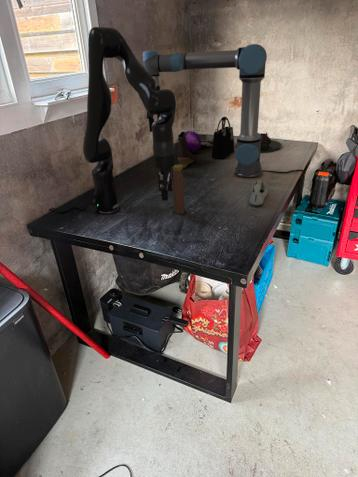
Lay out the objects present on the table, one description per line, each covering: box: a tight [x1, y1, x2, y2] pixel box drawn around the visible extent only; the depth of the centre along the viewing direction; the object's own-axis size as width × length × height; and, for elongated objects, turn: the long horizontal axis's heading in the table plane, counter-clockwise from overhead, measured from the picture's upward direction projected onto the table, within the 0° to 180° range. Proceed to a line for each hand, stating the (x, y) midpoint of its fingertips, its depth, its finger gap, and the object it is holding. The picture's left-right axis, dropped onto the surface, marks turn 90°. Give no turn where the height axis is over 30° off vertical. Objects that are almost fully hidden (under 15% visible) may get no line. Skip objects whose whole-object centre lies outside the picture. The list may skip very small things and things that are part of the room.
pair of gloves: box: [199, 134, 214, 149], centre depth 251 cm, size 30×26×5 cm
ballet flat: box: [249, 179, 269, 207], centre depth 158 cm, size 8×24×8 cm, turn 163°
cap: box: [173, 163, 183, 172], centre depth 140 cm, size 4×4×2 cm
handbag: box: [211, 116, 236, 160], centre depth 219 cm, size 21×9×25 cm, turn 148°
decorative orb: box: [184, 130, 202, 154], centre depth 230 cm, size 15×15×15 cm
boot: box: [176, 131, 195, 169], centre depth 209 cm, size 9×24×20 cm, turn 168°
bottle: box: [172, 170, 186, 215], centre depth 145 cm, size 5×5×21 cm
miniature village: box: [235, 132, 282, 154], centre depth 237 cm, size 32×35×9 cm
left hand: (167, 195), depth 123 cm, fingers open, 8 cm apart
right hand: (156, 128), depth 177 cm, fingers open, 13 cm apart
